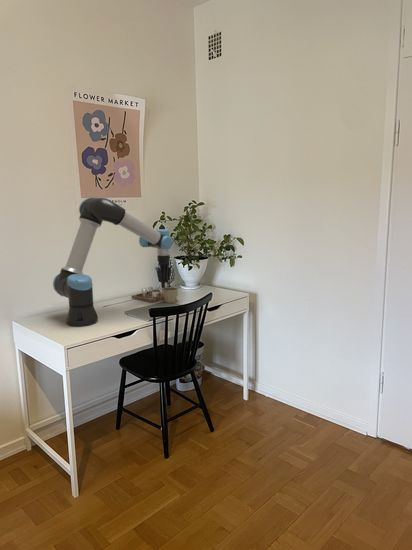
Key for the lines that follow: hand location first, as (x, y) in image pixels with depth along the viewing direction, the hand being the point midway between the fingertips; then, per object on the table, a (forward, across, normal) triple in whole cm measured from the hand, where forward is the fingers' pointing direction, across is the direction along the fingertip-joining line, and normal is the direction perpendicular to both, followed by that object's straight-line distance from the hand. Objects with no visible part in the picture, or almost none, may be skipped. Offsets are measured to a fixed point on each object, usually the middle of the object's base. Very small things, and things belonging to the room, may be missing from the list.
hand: (164, 292), depth 262 cm
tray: (+3, -8, 0) cm, 8 cm away
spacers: (+1, -7, 0) cm, 7 cm away
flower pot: (+3, -10, -14) cm, 17 cm away
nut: (+1, -6, 0) cm, 6 cm away
